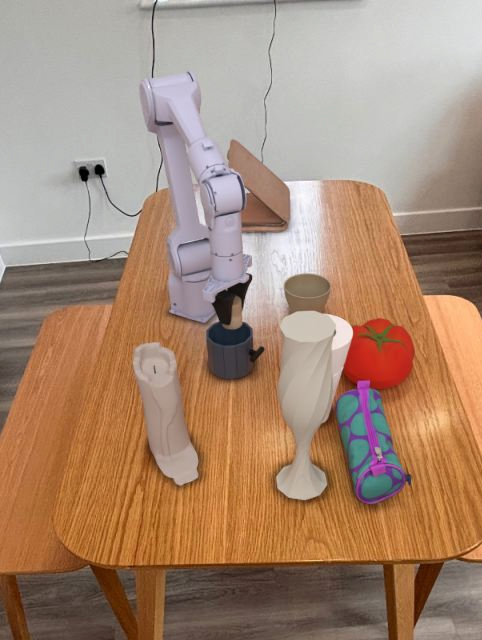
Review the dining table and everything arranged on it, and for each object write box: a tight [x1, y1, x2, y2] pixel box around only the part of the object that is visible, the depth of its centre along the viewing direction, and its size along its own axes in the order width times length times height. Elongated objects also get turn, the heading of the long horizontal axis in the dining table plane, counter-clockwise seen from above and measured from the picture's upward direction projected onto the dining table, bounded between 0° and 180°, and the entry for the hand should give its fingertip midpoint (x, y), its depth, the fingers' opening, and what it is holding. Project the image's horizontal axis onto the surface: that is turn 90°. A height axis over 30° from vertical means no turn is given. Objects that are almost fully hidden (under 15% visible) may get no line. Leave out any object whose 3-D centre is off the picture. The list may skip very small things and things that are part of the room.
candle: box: [132, 341, 200, 486], centre depth 104 cm, size 7×14×20 cm, turn 24°
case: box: [226, 139, 291, 233], centre depth 165 cm, size 20×21×16 cm
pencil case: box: [334, 381, 412, 505], centre depth 106 cm, size 21×9×10 cm, turn 5°
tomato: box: [342, 317, 416, 390], centre depth 122 cm, size 14×16×10 cm
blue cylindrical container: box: [205, 321, 265, 380], centre depth 125 cm, size 11×9×8 cm
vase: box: [275, 311, 336, 501], centre depth 96 cm, size 9×8×30 cm
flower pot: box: [283, 272, 332, 314], centre depth 137 cm, size 10×10×7 cm
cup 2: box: [321, 313, 353, 424], centre depth 111 cm, size 11×11×18 cm
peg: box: [222, 296, 243, 330], centre depth 121 cm, size 4×4×5 cm
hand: (230, 317), depth 122 cm, fingers closed on peg, 4 cm apart
